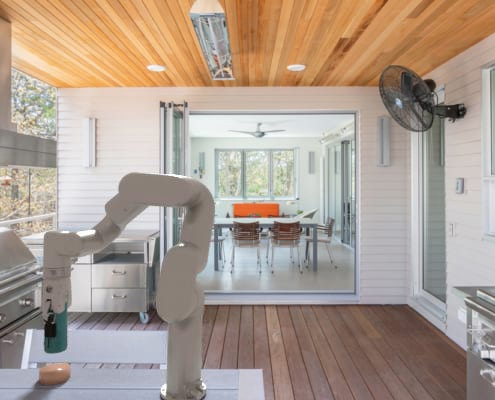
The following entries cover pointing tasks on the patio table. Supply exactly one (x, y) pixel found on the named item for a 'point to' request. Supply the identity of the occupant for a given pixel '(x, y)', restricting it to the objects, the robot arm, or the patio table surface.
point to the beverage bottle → (58, 334)
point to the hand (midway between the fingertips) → (55, 332)
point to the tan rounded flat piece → (54, 373)
